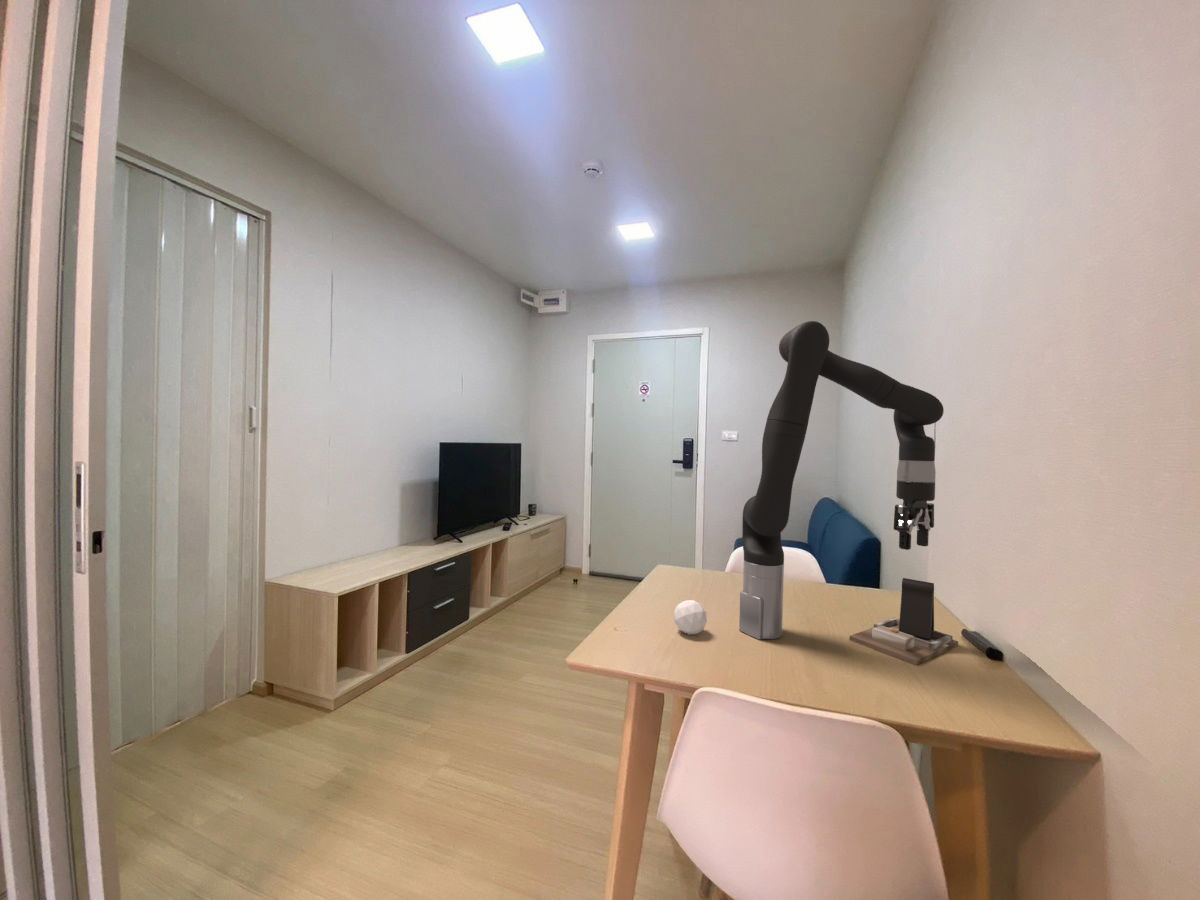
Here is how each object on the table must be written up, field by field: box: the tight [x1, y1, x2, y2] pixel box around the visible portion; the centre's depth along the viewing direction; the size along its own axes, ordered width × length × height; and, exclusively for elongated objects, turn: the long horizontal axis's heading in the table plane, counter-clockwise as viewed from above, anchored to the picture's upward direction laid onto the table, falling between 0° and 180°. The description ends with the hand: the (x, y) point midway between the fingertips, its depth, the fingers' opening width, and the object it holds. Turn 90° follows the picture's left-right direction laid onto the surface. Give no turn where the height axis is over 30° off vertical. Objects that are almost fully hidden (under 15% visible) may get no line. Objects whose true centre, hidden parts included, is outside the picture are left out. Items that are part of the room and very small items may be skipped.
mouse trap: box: [849, 617, 959, 666], centre depth 104 cm, size 20×14×4 cm
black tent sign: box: [899, 577, 935, 640], centre depth 105 cm, size 9×6×12 cm, turn 138°
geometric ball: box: [673, 599, 708, 635], centre depth 107 cm, size 8×8×8 cm
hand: (913, 547), depth 106 cm, fingers open, 8 cm apart
